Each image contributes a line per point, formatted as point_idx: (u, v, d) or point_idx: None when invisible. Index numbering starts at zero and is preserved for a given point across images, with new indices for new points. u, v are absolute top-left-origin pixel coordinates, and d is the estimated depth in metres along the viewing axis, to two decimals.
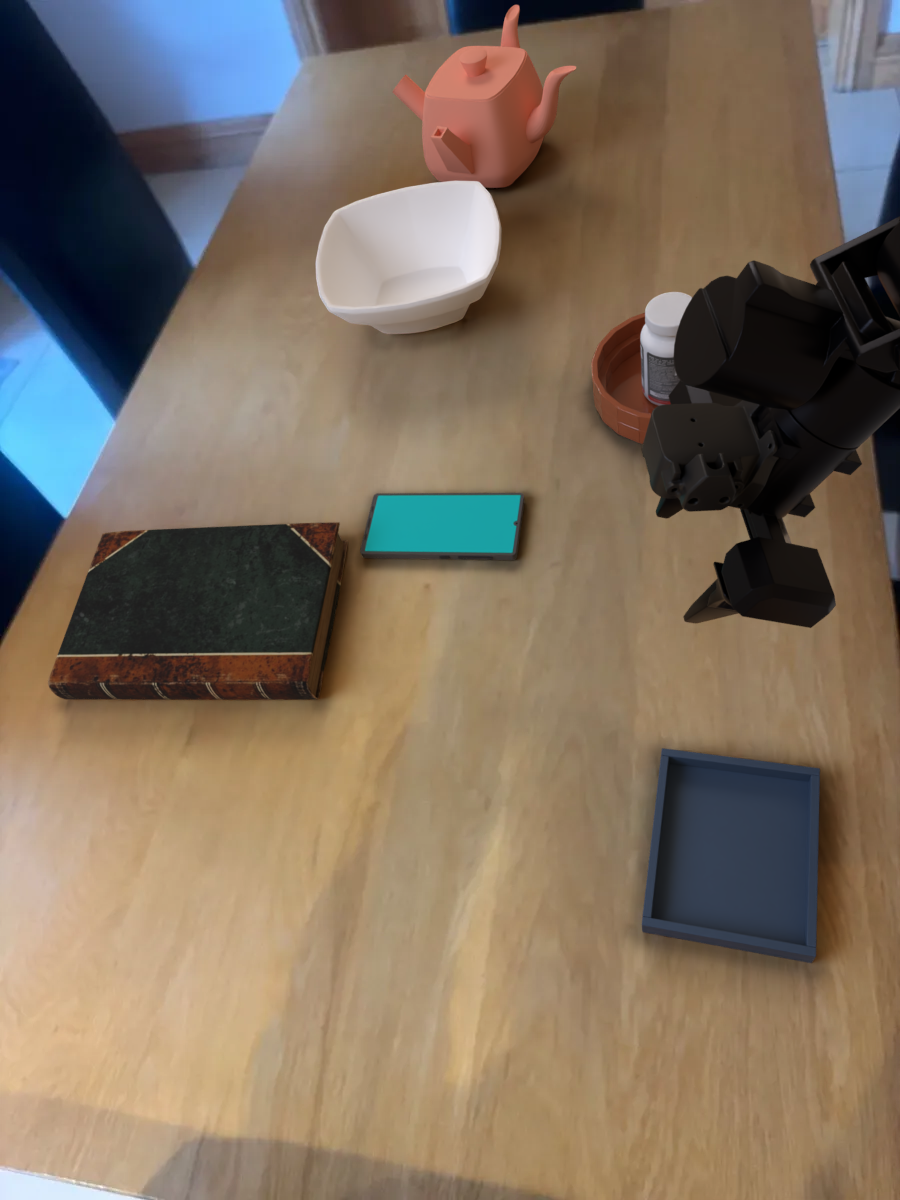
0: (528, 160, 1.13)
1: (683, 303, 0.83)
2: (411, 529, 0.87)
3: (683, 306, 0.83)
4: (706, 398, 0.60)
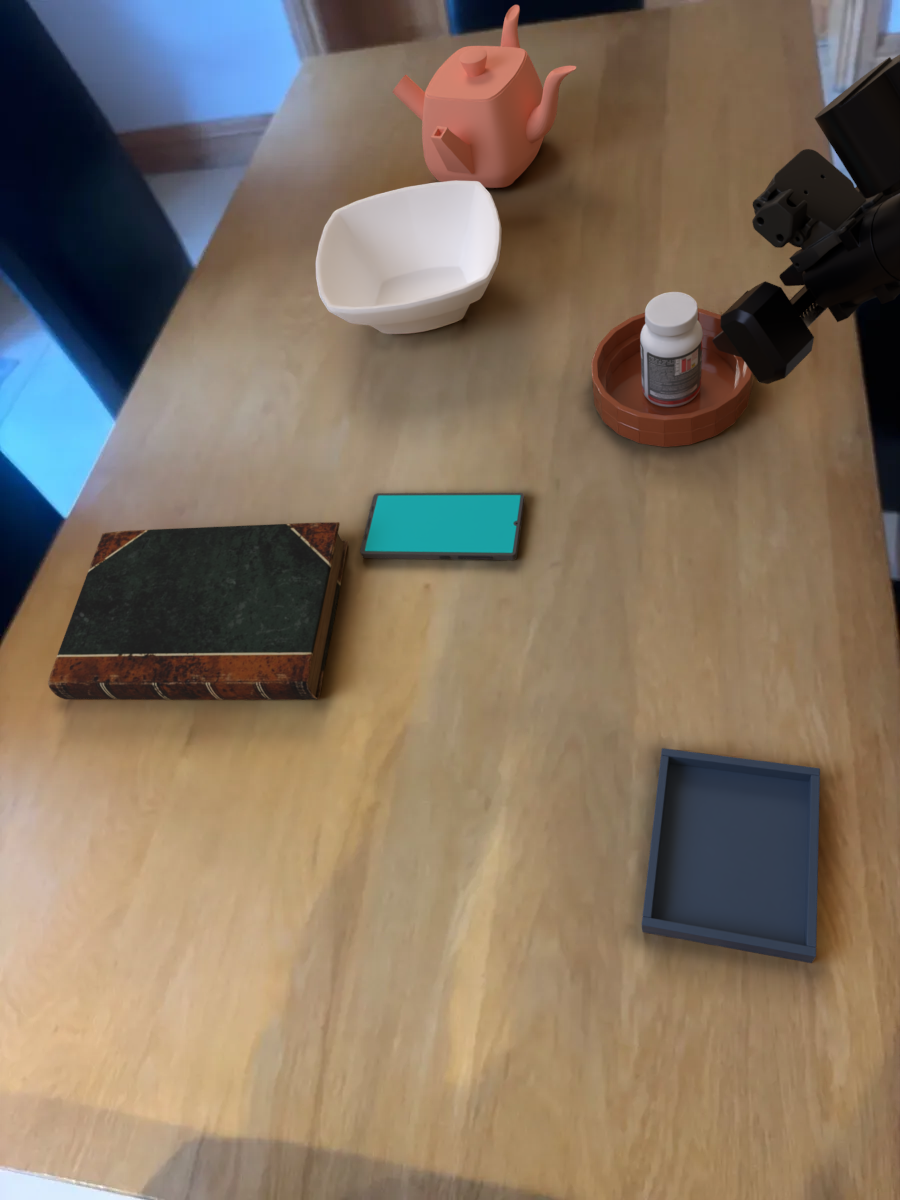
0: (528, 160, 1.13)
1: (683, 303, 0.83)
2: (411, 529, 0.87)
3: (683, 306, 0.83)
4: None
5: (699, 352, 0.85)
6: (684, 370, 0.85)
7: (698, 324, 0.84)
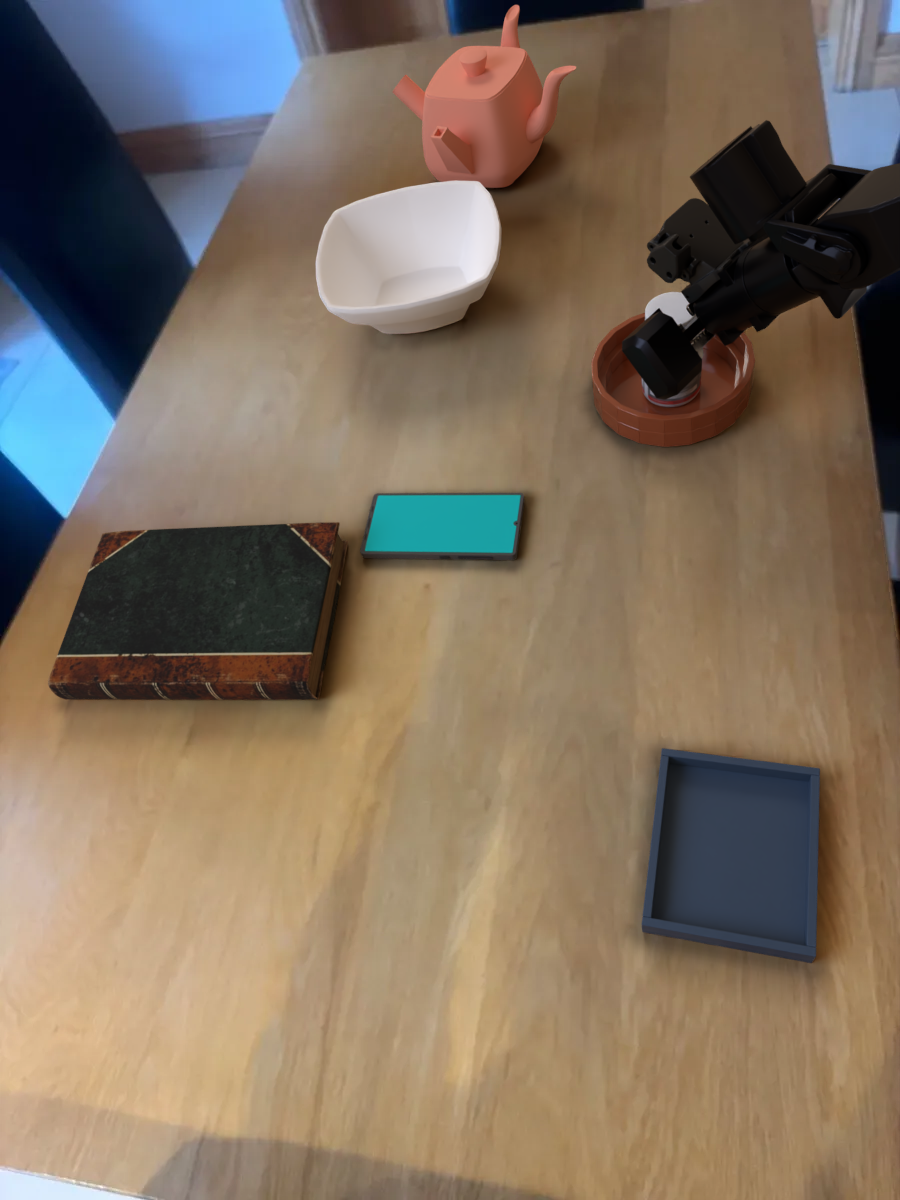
0: (528, 160, 1.13)
1: (683, 303, 0.83)
2: (411, 529, 0.87)
3: (683, 306, 0.83)
4: None
5: None
6: None
7: None
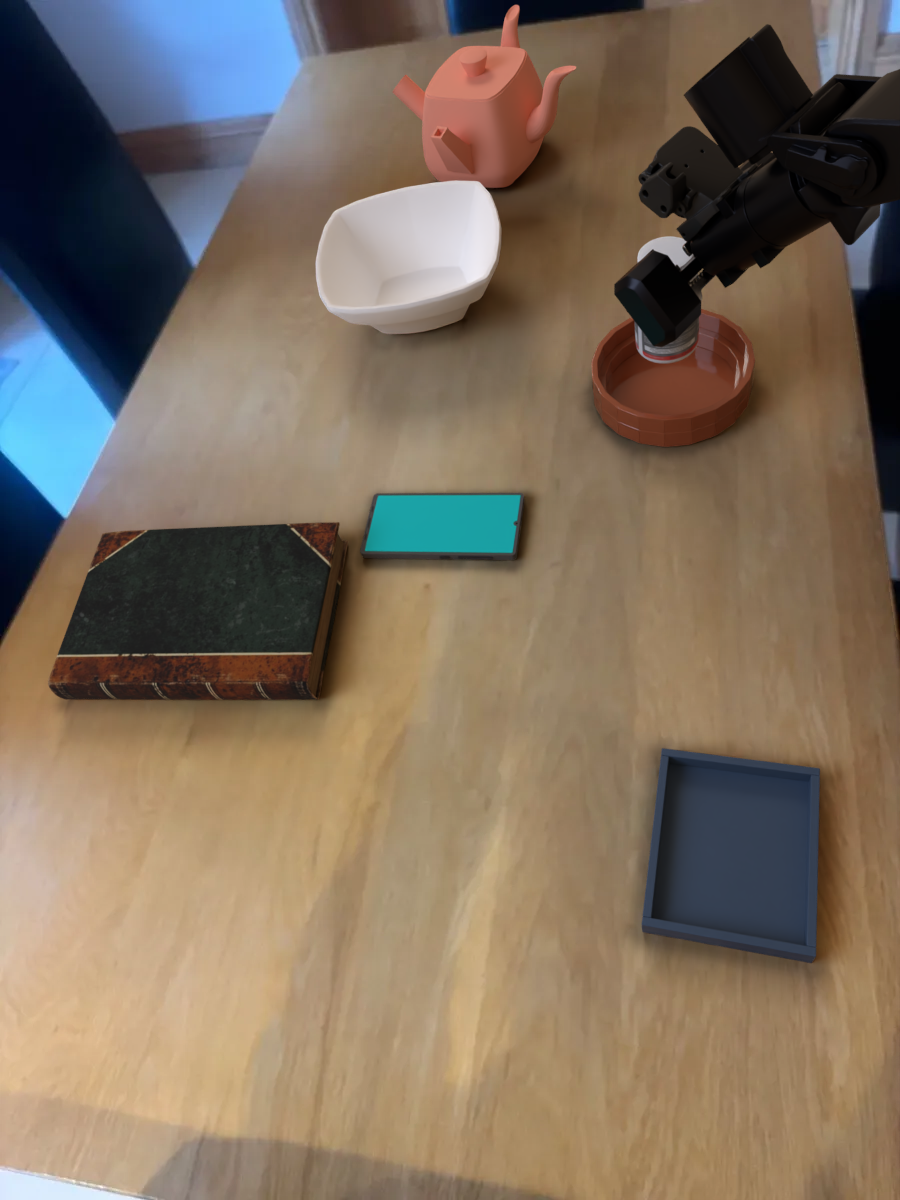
0: (528, 160, 1.13)
1: (678, 247, 0.77)
2: (411, 529, 0.87)
3: (678, 250, 0.77)
4: None
5: None
6: None
7: None
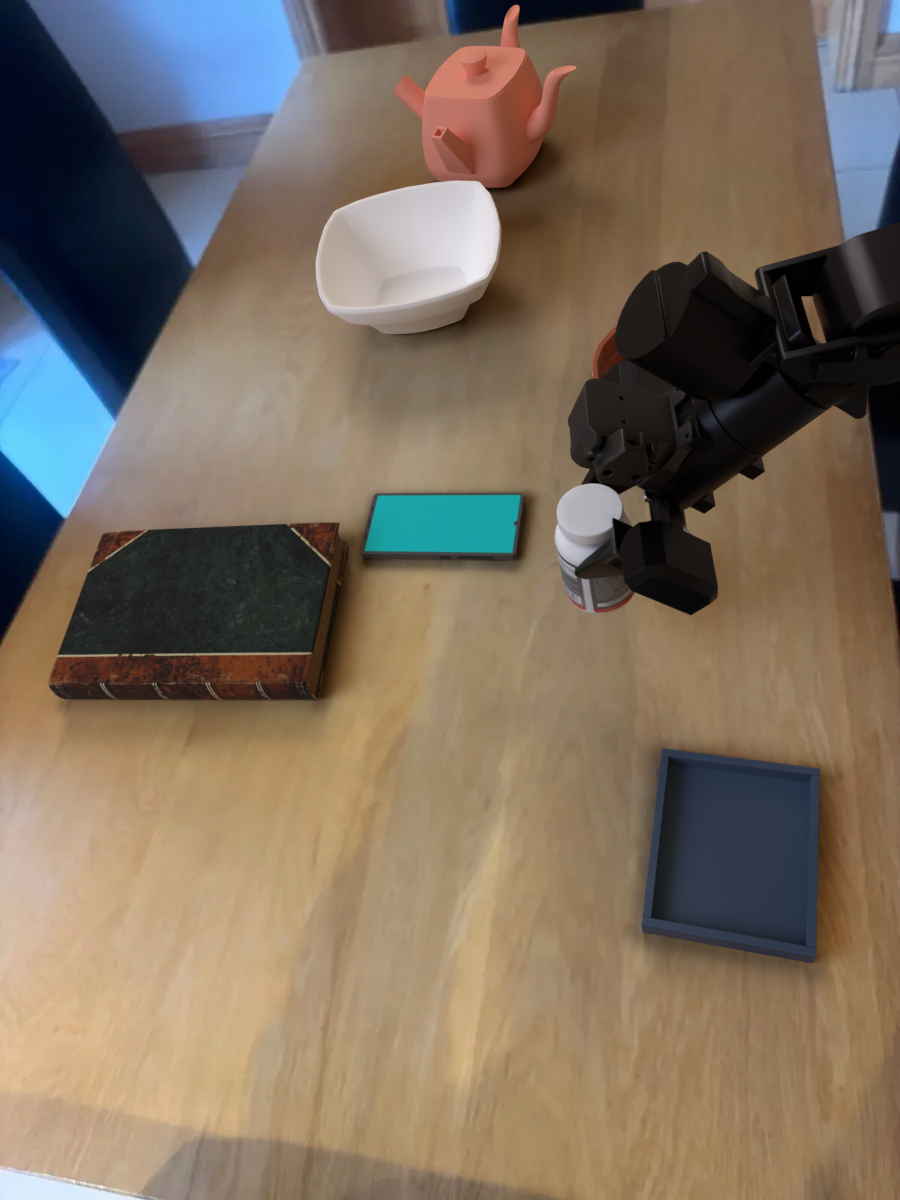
0: (528, 160, 1.13)
1: (595, 495, 0.64)
2: (411, 529, 0.87)
3: (599, 498, 0.64)
4: (636, 385, 0.62)
5: None
6: None
7: None
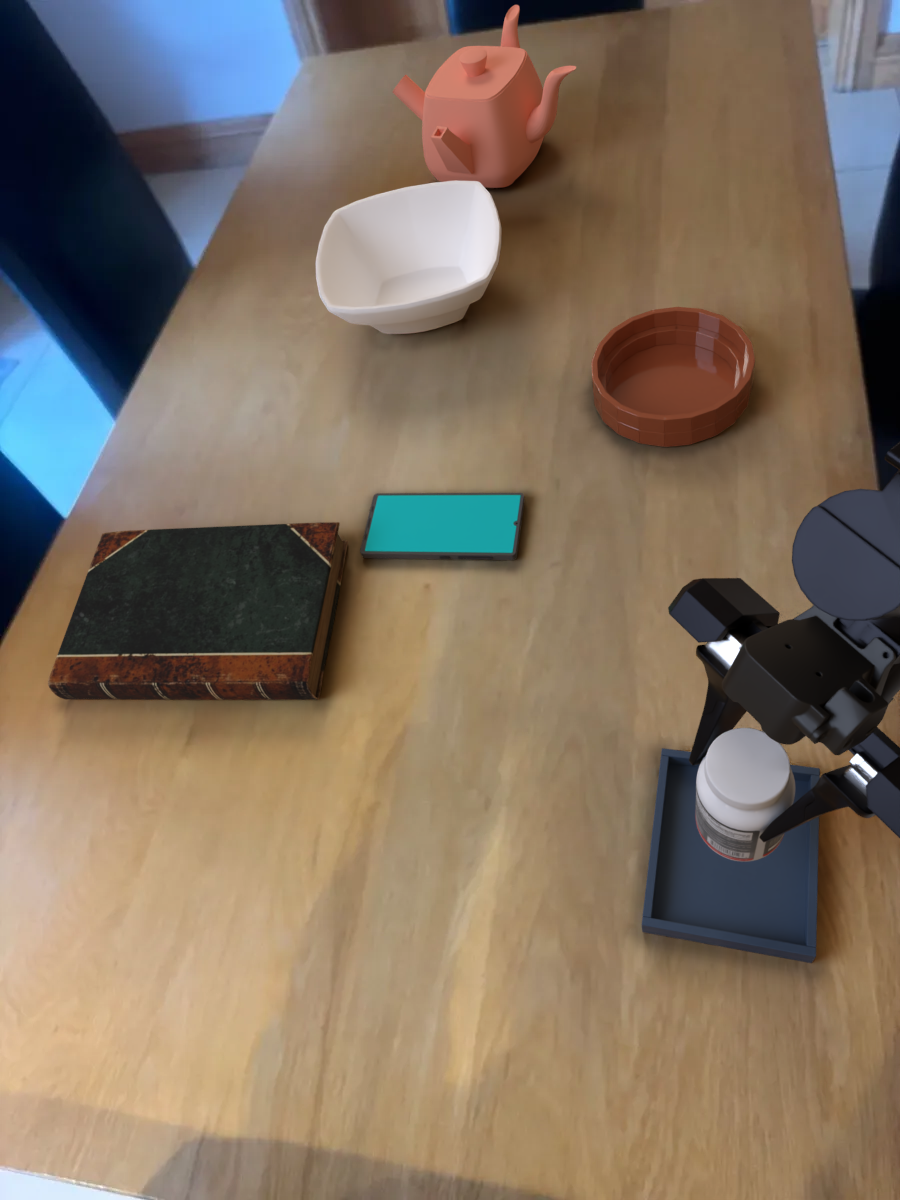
0: (528, 160, 1.13)
1: (740, 745, 0.53)
2: (411, 529, 0.87)
3: (747, 746, 0.53)
4: (730, 609, 0.52)
5: None
6: None
7: None
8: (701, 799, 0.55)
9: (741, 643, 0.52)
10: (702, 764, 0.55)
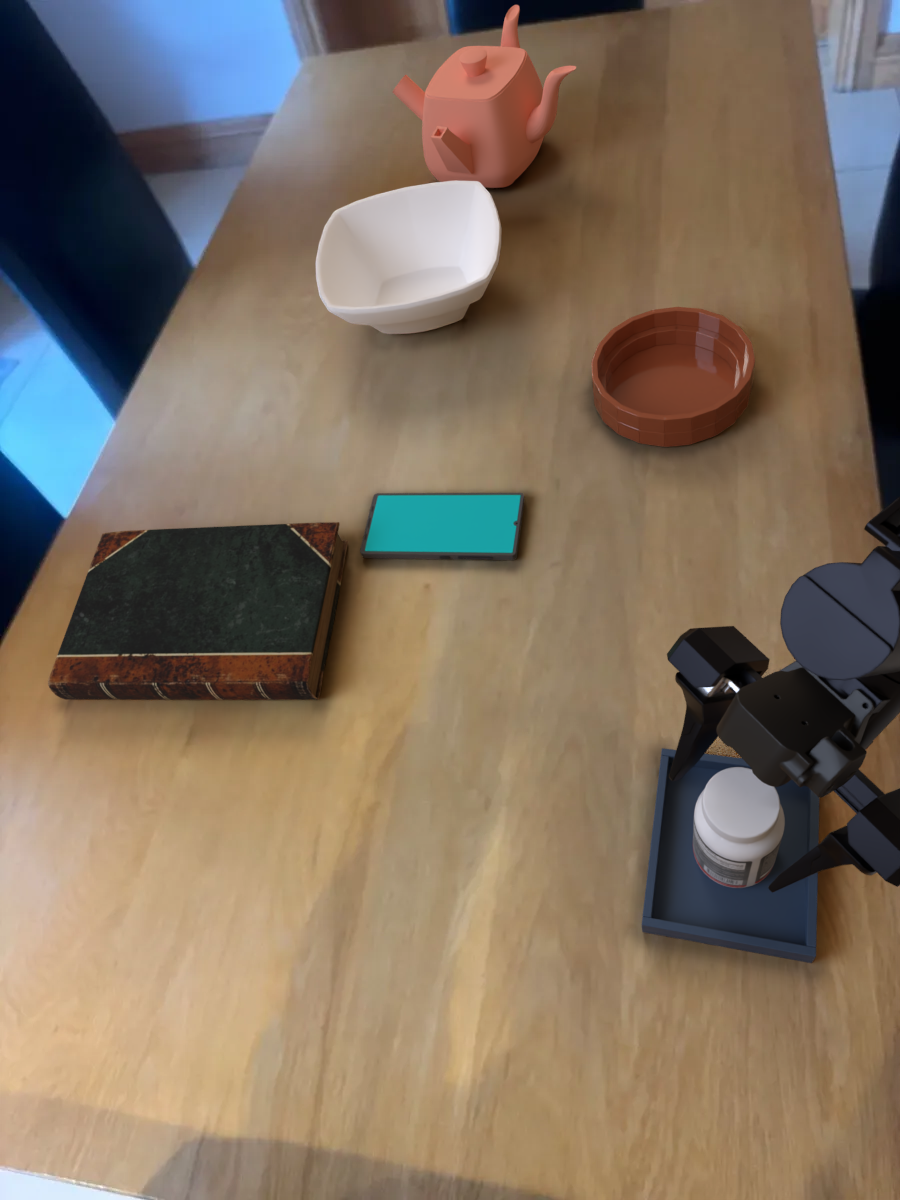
0: (528, 160, 1.13)
1: (735, 783, 0.58)
2: (411, 529, 0.87)
3: (741, 784, 0.58)
4: (724, 657, 0.57)
5: None
6: None
7: None
8: (698, 832, 0.60)
9: None
10: (699, 799, 0.60)
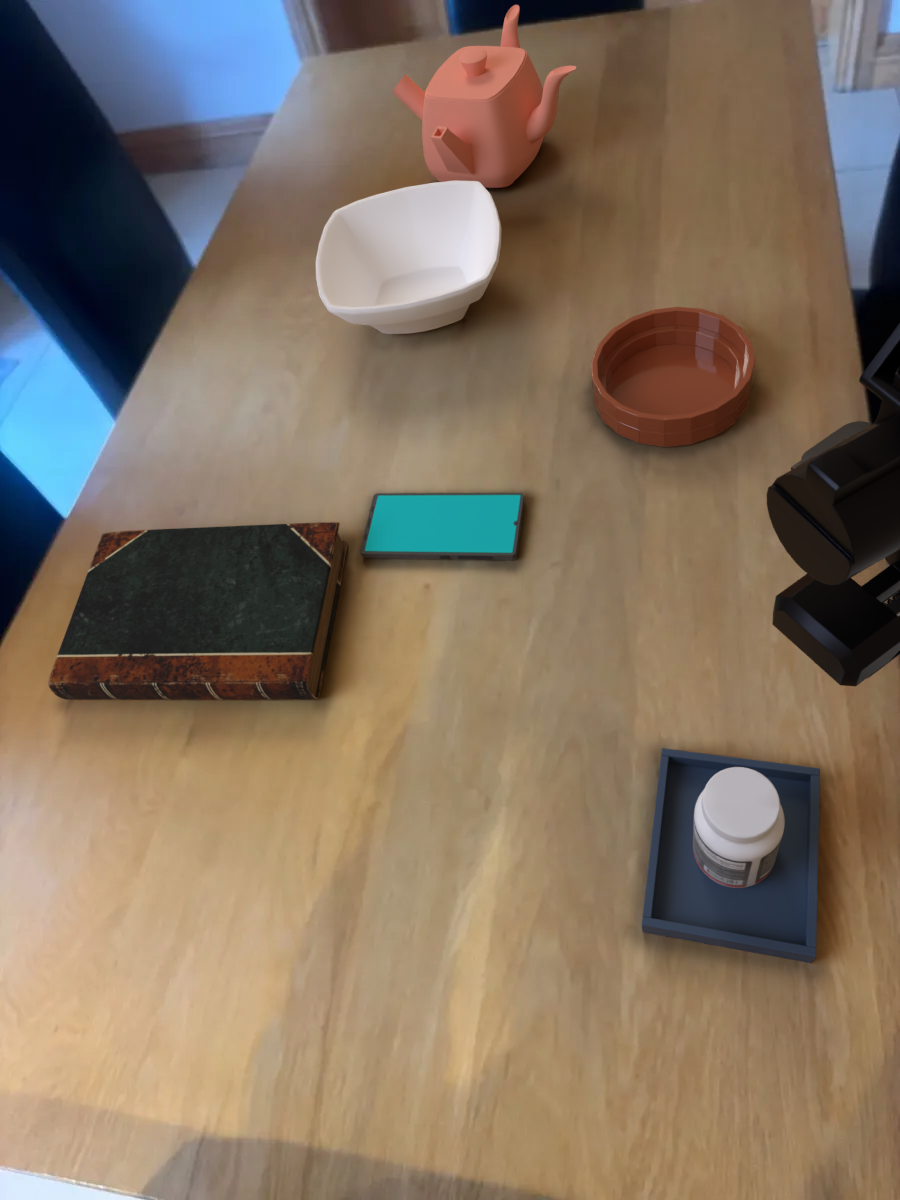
0: (528, 160, 1.13)
1: (734, 783, 0.58)
2: (411, 529, 0.87)
3: (741, 784, 0.58)
4: None
5: None
6: None
7: None
8: (698, 832, 0.60)
9: None
10: (699, 799, 0.60)
